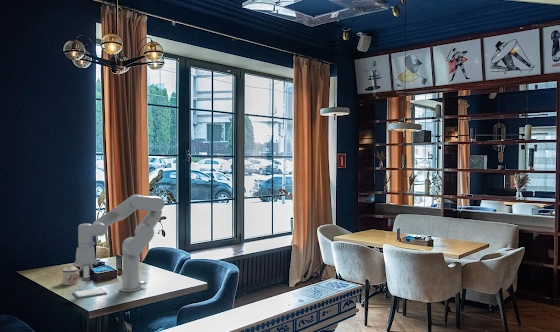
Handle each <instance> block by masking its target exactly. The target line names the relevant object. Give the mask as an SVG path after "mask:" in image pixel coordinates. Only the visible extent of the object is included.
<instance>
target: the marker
mask: <svg viewBox="0 0 560 332" xmlns="http://www.w3.org/2000/svg"><path fill="white" fill-rule="evenodd" d="M82 270H83V277H81V279H82V280H81V281H82V282H89V281H90V279H91V278H90V277H91V276H90V267H89V264H86V265H83V267H82Z"/></svg>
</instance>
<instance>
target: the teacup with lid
mask: <svg viewBox="0 0 560 332" xmlns="http://www.w3.org/2000/svg"><path fill="white" fill-rule="evenodd" d="M61 271H62V280H61V282H62V285H63V286H73V285H76V284H77V283H78V278H79V277H80V270H79V269H77V268H76V267H74V266H73V265H72V264H68V266H66V267H64V268H62V270H61Z"/></svg>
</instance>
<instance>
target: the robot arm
mask: <svg viewBox="0 0 560 332" xmlns="http://www.w3.org/2000/svg"><path fill="white" fill-rule="evenodd" d="M165 204H166V203H165V200H164V199H163V198H162V197H160V196H158V195H151V196H147V195H140V194H132V195H130V196H129V197H128V198H126V199H125V200H124V201H123V202H121V203H120V204H118V205H117V206H115V207H114V208H113V209H111V210H109V211H108V212H106V213H104V214H103V215H102V216H100V217H99V218H98V219H96V220H95V221H94V222H93V223H92V224H91V223H88V222H87V223H81V224H79V225H78V228H77V229H78V233H77V234H78V235H77V236H78V240H77V241H78V247H76V251H75V252H76V253H75V261H74V262H73V265H72V266H73V267H76V268H77V269H78V270H79V271H80V275H79V277H80V278H82V277H83V270H82V267H83V265H86V264H89V267H90V277H92V275H93V269H94V267H95V266H96V265H98V264H99V261H98V260H97V258H96V252H95V247H94V245H95V244H96V242H95V241H94V240H93V236H94V237H103V236H104V235H106V234H107V232H108V227H110V226H111V225H113V224H115V223H116V222H121V221H123V220H125V219H126V218H128V217H129V216H130V215H131V214H133V213H134V212H135V211H136V210H137V211H138V210H139V211H147V212H146V214H145V216H144V217H143V219H142V220H141V221H140V222H139V223H138V225H137V226H136V227H135V229H134V234H135V235H134V236H129V237H127V238H125V239H124V240H123V242H122V245H121V248H122V250H121V251H122V252H121V253H122V282H121V283H122V286H120V287H119V291H121V292H123V293H134V292H137V291H141V290H142V286H146V285H147V281H146V280H145V281H143V280H140V277H139V275H140V254H141V253H143V251H144V249H146V247H147V246H148V245H149V243H150V242H151V241H152V240H153V238H154V235H155V230H154V228H155V227H156V226H157V224H158V223H159V222H160V219H161V218H162V212H163V211H162V210H163V209H164V207H165Z"/></svg>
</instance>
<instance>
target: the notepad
mask: <svg viewBox="0 0 560 332" xmlns="http://www.w3.org/2000/svg"><path fill="white" fill-rule="evenodd" d="M72 295H73V296H74V297H75V298H76V299H77V300H78V299H79V300H80V299H85V298H93V297H98V296H107V295H108V292H106V291H105V290H104V289H103V288H101V287H99V288H97V287H96V288H93V289H85V290H84V289H83V290H79V291H73V292H72Z"/></svg>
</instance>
